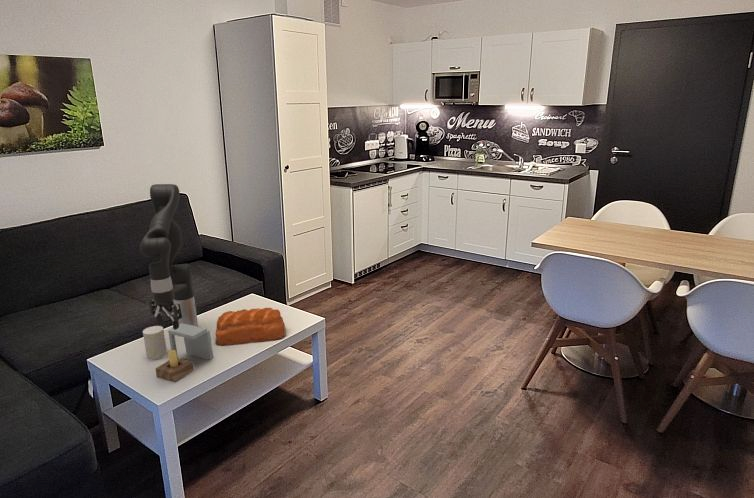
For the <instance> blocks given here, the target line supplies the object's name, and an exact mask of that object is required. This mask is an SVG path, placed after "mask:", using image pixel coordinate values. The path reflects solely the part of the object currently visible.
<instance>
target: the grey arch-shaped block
mask: <svg viewBox="0 0 754 498" xmlns="http://www.w3.org/2000/svg"><path fill="white" fill-rule="evenodd" d="M167 333H168V339H169V344H170V350H176V353H177V358H179V356H178V351H177V350H178V348H177V345H176V344H177V343H176V337H175V336H177V337H181V338H183V340H184V346H185V353H186V355H190V356H195V357H199V358H203V359H206V360H209V361H210V360H213V359H214V354H213V346H212V345H213V344H212V339H211V338H212V337H211V331H210V329H207V328H205V327H200V326H198V327H197V326H192V325H188V324H183V323H181V324H179V328H178V329H176V330H174V329H173V327H171V328H170V329H168V330H167Z"/></svg>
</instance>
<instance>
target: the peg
mask: <svg viewBox="0 0 754 498" xmlns="http://www.w3.org/2000/svg"><path fill="white" fill-rule="evenodd" d="M167 355H168V361H169V362H170V368H173V369H175V368H176V367H178V360H177V355H178V352H177V353H176V350H171V349H170V350H169V351H167Z"/></svg>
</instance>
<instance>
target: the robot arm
mask: <svg viewBox="0 0 754 498" xmlns="http://www.w3.org/2000/svg"><path fill="white" fill-rule="evenodd" d="M180 193H181V192H180V189H179V186H178V185H177V184H174V183H166V184H165V183H161V184H160V183H159V184H157V183H156V184H155V183H154V184H152V185H151V186H150V189H149V196H150V202H151V204H152V208H153V212H154V216H153V217H152V219H151V221H150V225H149V229H148V231H147V232H146V233H145V235H144V237H143V238H141V241H140V243H139V251H140V254H141V255H142V256H143V257H145V258H159V257H160V259H159V260H156V261H153V262H151V263H150V264H149V265H148V272H149V278H150V288H151V289H150V290H151V295H152V300H150V301H149V310H150V314H151V316H154V317H155V320H156V324H157V325H156V326H162V325H163V324H164V321H163V315H162V314H165V315H167V317H168V318H170V319H171V324H172V328H173V329H174V330H176V329H178V328H179V324H181V323H183V324H188V325H192V326H197V327H199V323H198V315H197V308H196V301H195V294H194V289H193V276H192V268H191V266H190V264H189V263H181V264H174V261H175V258H176V256H177V255H178V253H179V252H180V250H181V249H182V247H183V243H184V241H183V234H182V230H181V227H180V226H179V224H178V223H177V222H176V221H175V220H174V219H173V217H174V216H175V213H176V211H177V208H178V206H179V203H180V198H181V194H180ZM176 285H183V286H182V287H180V288H178V289H176V290H174V287H173V286H176Z"/></svg>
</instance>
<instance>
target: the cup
mask: <svg viewBox="0 0 754 498" xmlns="http://www.w3.org/2000/svg"><path fill="white" fill-rule="evenodd" d="M142 337H143V341H144V346H145V347H144V348H145V354H146V358H147V360H151V361H157V360H160V359H162V358H165V357H166V356H167V355H168V351H167V343H166V342H167V341H166V338H165V331H164V327H163V326H162V325H160V326H158V325H154V326H149V327H145V328H144V329H143V330H142Z"/></svg>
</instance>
